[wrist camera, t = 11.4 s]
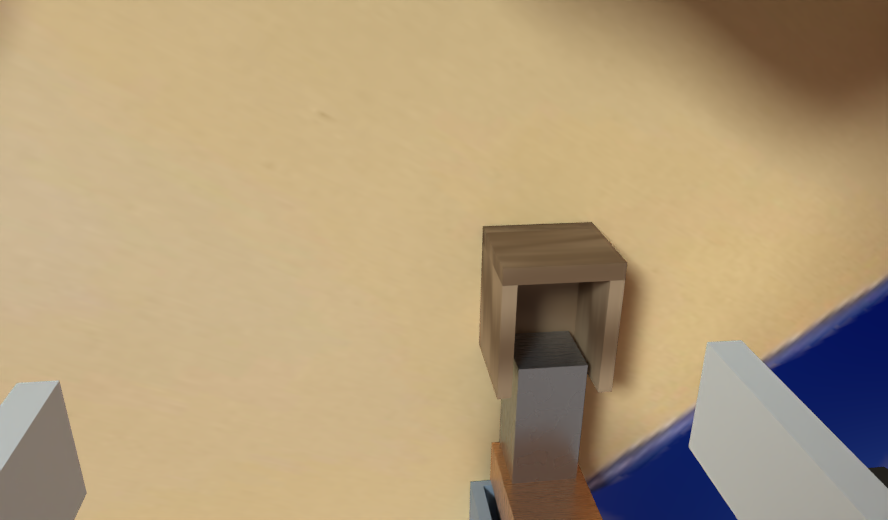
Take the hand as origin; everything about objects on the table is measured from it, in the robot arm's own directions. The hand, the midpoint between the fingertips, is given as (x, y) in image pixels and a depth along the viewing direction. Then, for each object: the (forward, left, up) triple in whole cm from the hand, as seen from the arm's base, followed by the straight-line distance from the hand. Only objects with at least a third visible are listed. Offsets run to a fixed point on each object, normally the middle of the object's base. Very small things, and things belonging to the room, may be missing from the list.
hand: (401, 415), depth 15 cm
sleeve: (0, +14, -27) cm, 30 cm away
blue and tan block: (+7, +21, -25) cm, 34 cm away
